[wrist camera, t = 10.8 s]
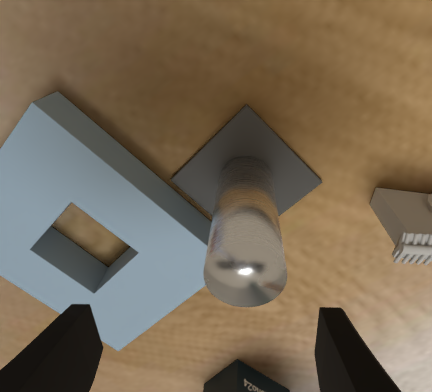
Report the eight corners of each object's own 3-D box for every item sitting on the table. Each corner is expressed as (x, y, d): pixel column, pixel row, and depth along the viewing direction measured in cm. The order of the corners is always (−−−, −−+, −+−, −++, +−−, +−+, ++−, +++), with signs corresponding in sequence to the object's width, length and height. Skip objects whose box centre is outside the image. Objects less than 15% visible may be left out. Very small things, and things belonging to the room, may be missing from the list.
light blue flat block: (-30, 214, 23) (-60, 237, 20) (57, 91, 18) (32, 102, 16) (129, 322, 26) (118, 351, 24) (232, 240, 22) (231, 265, 20)
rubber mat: (171, 178, 20) (170, 180, 20) (246, 104, 18) (246, 105, 18) (244, 240, 22) (244, 243, 22) (321, 179, 19) (322, 182, 19)
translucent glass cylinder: (222, 205, 20) (209, 308, 13) (215, 158, 19) (197, 244, 12) (273, 201, 20) (288, 305, 13) (270, 153, 19) (285, 239, 12)
